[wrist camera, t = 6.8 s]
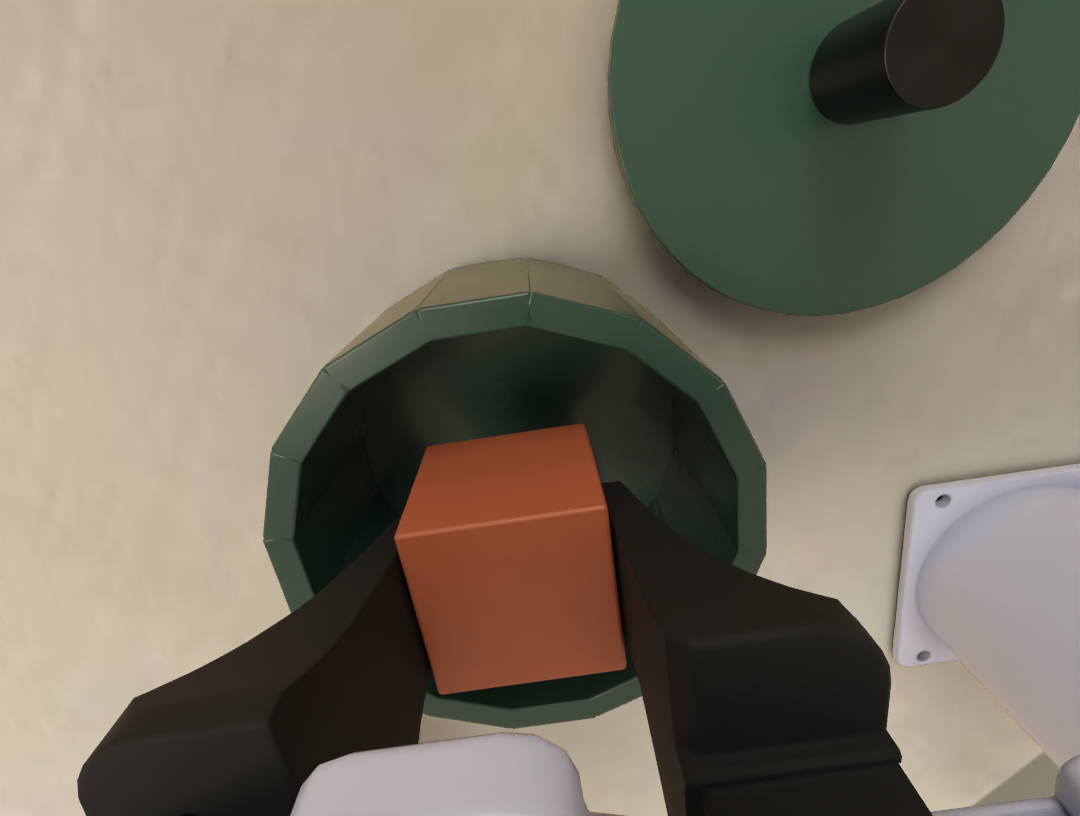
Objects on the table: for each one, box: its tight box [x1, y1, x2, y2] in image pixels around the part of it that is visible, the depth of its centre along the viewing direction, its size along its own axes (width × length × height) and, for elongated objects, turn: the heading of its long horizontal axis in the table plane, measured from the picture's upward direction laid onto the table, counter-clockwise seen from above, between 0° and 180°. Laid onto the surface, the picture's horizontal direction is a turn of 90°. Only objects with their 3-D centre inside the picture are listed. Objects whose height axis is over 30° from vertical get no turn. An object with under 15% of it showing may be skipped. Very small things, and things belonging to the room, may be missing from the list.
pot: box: [263, 258, 767, 729], centre depth 16 cm, size 11×11×6 cm
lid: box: [608, 0, 1080, 316], centre depth 13 cm, size 12×12×4 cm
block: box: [394, 423, 627, 694], centre depth 13 cm, size 4×4×4 cm
